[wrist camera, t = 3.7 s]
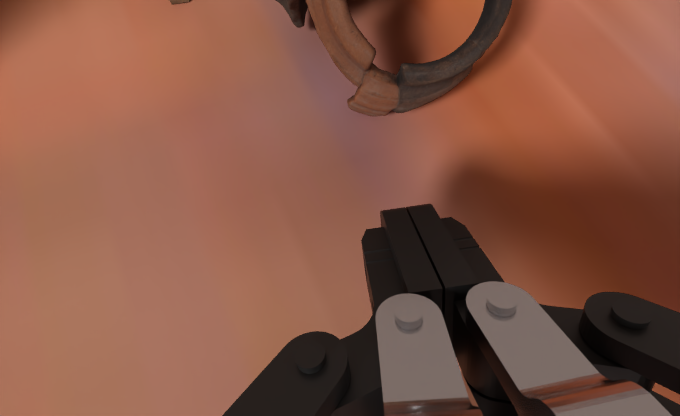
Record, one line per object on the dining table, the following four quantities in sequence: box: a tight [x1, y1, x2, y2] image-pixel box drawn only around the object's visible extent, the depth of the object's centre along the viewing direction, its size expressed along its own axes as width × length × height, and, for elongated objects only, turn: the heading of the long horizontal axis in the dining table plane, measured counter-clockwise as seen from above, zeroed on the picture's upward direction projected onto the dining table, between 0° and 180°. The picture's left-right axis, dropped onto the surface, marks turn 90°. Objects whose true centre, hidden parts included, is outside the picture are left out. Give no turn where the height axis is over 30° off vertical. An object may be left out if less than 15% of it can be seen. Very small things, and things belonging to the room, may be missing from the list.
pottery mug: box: [276, 0, 512, 116], centre depth 16 cm, size 12×10×8 cm
